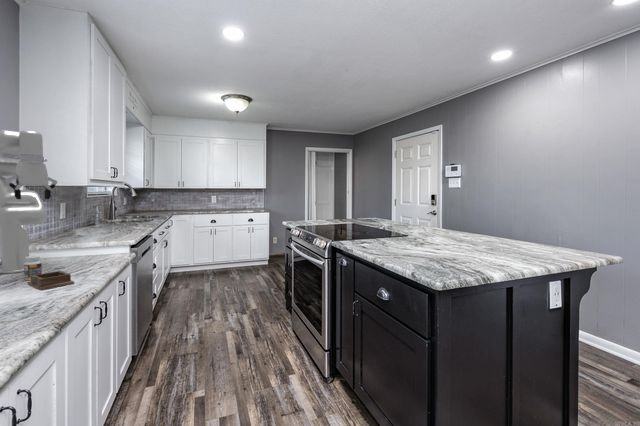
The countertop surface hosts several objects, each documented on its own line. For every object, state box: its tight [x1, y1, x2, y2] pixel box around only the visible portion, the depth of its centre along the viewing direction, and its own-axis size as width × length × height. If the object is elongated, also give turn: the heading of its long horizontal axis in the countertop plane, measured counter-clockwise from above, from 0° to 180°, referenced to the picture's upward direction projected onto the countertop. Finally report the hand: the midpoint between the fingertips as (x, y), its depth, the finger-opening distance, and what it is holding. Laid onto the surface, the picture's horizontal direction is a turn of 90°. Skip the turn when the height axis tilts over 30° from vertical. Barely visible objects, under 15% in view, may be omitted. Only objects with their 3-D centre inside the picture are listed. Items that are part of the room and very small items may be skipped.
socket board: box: [27, 270, 75, 291], centre depth 130 cm, size 14×11×4 cm
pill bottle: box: [23, 255, 43, 281], centre depth 137 cm, size 6×6×10 cm
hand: (33, 199), depth 136 cm, fingers open, 9 cm apart
